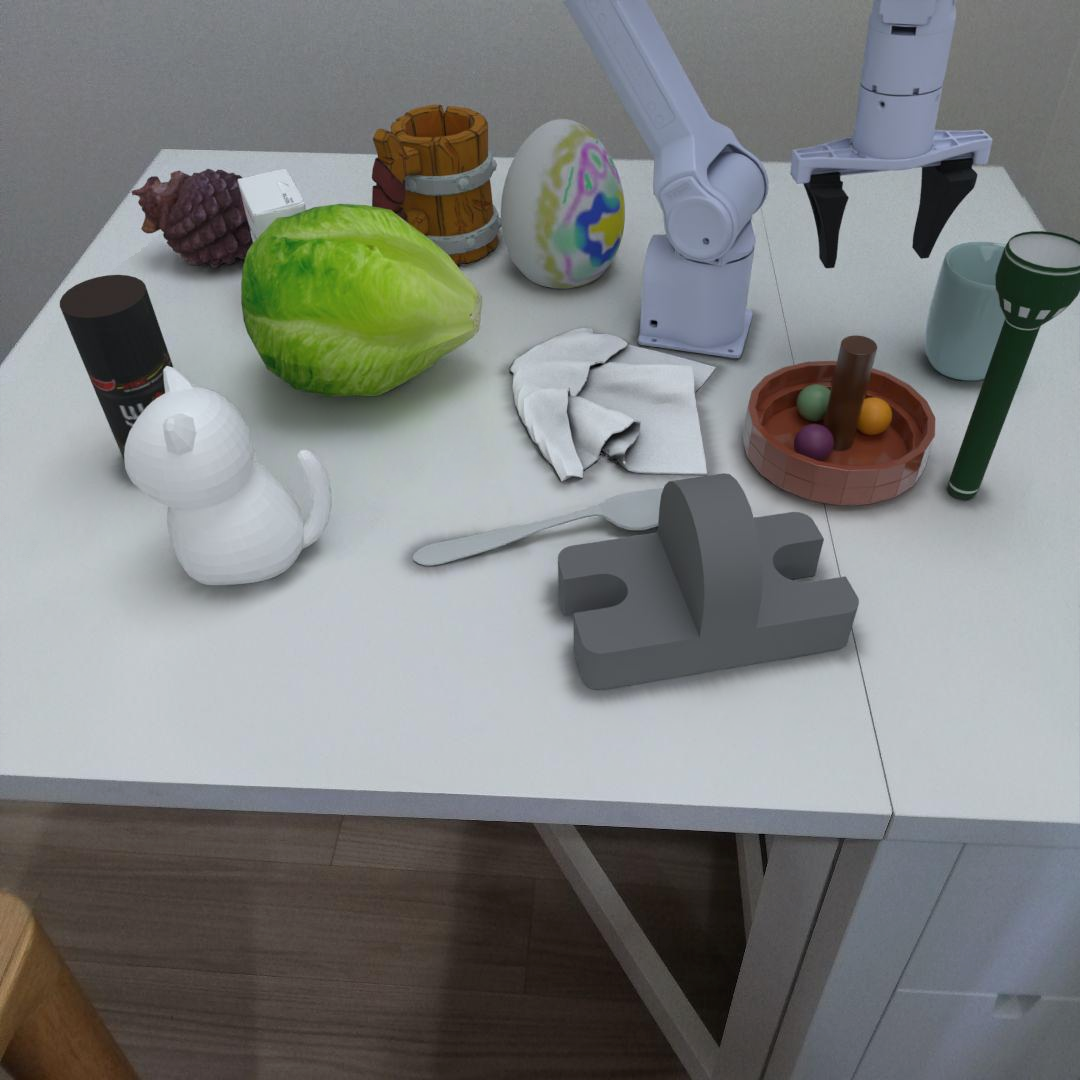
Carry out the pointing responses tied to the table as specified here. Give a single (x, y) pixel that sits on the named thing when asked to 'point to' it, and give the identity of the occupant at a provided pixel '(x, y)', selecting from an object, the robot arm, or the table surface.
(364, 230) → the lettuce
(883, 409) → the amber bead
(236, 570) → the cat figurine
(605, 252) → the decorative egg
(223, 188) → the pine cone
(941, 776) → the table surface
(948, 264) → the cup
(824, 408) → the sage bead
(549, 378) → the cloth
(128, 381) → the deodorant
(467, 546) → the spoon
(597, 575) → the bracket
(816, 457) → the plum bead
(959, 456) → the flashlight
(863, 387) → the stick
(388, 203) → the mug
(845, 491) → the bowl
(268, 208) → the ink box
